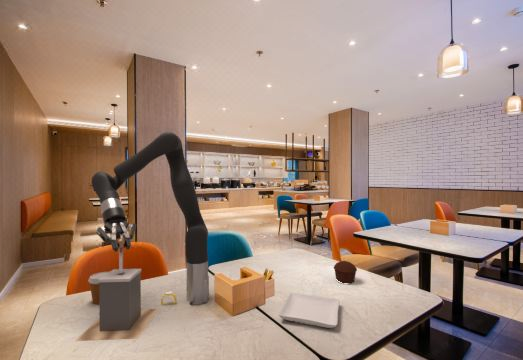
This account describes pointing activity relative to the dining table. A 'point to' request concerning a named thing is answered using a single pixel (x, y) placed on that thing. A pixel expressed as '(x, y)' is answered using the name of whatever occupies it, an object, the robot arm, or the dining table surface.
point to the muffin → (345, 272)
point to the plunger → (121, 253)
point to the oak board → (133, 333)
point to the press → (119, 299)
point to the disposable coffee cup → (95, 286)
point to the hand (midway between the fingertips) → (122, 249)
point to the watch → (168, 295)
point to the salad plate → (311, 310)
